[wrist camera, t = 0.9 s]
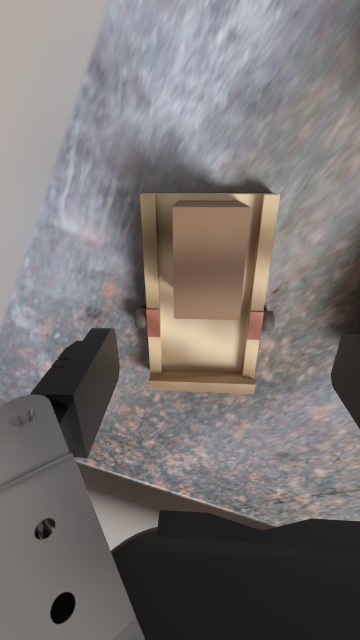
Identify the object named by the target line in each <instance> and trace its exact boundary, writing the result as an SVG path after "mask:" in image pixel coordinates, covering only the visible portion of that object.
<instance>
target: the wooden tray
mask: <svg viewBox="0 0 360 640" xmlns="http://www.w3.org/2000/svg"><path fill="white" fill-rule="evenodd" d="M279 199H280V195H279V194H274V193H143V194H140V204H141V221H142V239H143V256H144V273H145V290H146V307H147V308H137V309H136V313H135V325H136V328H147V333H148V342H149V359H150V379H149V389H150V390H166V391H193V392H220V393H246V394H254V392H255V385H256V384H255V381H254V374H255V367H256V360H257V353H258V346H259V340H260V336H261V331H273V329H274V323H275V318H274V313H273V311H264V304H265V297H266V290H267V283H268V276H269V269H270V262H271V255H272V248H273V241H274V234H275V227H276V220H277V213H278V206H279ZM178 200H211V201H241V202H242V203H244V204H246V205H248V206H250V207H251V213H250V223H249V233H248V242H247V252H246V262H245V271H244V281H243V291H242V300H241V310H240V320H210V319H174V293H173V206H174V205H175V204H176V202H177V201H178Z"/></svg>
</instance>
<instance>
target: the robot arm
mask: <svg viewBox="0 0 360 640" xmlns="http://www.w3.org/2000/svg"><path fill="white" fill-rule="evenodd" d="M118 377H119V358H118V350H117V341H116V334H115V330H114V329H113V328H92V329H91V330H90V331H89V333H88V334H87V335H86V337H85V338H84V340H83V341H76V342H75V343H73V344H72V345H70V346H69V347H67V348H66V349H65V350H64V351H63V352H62V353H61V355H60V356H59V357H58V360H56V361H55V363H54V364H53V365H52V368H50V369H49V370H48V372H47V373H46V374H45V376H44V377H43V378H42V379H41V381H40V382H39V383H38V385H37V386H36V387H35V388H34V390H33V391H32V392H31V394H30V395H25V396H21V397H18V398H15V399H13V400H11V401H9V402H7V403H5V404H4V405H2V406H1V407H0V640H360V521H343V520H326V519H308V520H304V521H300V522H296V523H292V524H288V525H284V526H279V527H275V528H271V529H267V530H258V529H255V528H251V527H249V526H246V525H243V524H240V523H237V522H234V521H231V520H228V519H225V518H222V517H219V516H216V515H213V514H210V513H201V512H183V511H165V510H160V513H159V521H158V527H155V528H151V529H148V530H145V531H143V532H140V533H137V534H135V535H134V536H132V537H130V538H128V539H127V540H125V541H123V542H122V543H121V544H119V545H118V546H116V547H115V548H114V549H113V550H112V551H110V549H109V546H108V543H107V541H106V539H105V536H104V533H103V531H102V528H101V525H100V523H99V520H98V518H97V516H96V513H95V510H94V507H93V505H92V502H91V500H90V497H89V495H88V492H87V489H86V487H85V484H84V482H83V479H82V477H81V474H80V471H79V469H78V466H77V464H76V461H75V459H74V457H80V458H88V455H89V452H90V450H91V447H92V445H93V442H94V440H95V437H96V435H97V432H98V430H99V427H100V425H101V422H102V419H103V417H104V414H105V412H106V409H107V407H108V404H109V402H110V399H111V397H112V394H113V391H114V389H115V386H116V384H117V381H118ZM331 381H332V385H333V388H334V390H335V391H336V393H337V394H338V396H339V397H340V399H341V401H342V402H343V404H344V405H345V407H346V408H347V410H348V411H349V413H350V415H351V416H352V418H353V419H354V421H355V422H356V424H357V426H358V427H359V429H360V334H345V335H343V337H342V338H341V340H340V344H339V347H338V351H337V354H336V358H335V361H334V365H333V368H332V372H331Z"/></svg>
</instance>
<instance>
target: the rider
mask: <svg viewBox="0 0 360 640" xmlns="http://www.w3.org/2000/svg"><path fill="white" fill-rule="evenodd" d="M250 213H251V207H250V206H248V205H246V204H244V203H242V202H241V201H211V200H178V201H177V202H176V204H175V205H174V206H173V293H174V319H210V320H240V310H241V300H242V291H243V281H244V271H245V262H246V252H247V242H248V233H249V223H250Z"/></svg>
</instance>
